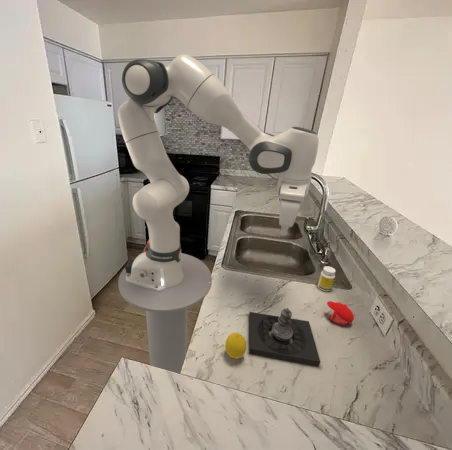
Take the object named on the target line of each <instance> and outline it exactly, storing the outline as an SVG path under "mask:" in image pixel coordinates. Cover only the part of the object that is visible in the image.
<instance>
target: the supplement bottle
mask: <svg viewBox="0 0 452 450" xmlns="http://www.w3.org/2000/svg"><path fill="white" fill-rule="evenodd" d="M336 272H337V271H336V269H335V267H332V266H327V265H326V266H325V265H324V266H323V269H322V270H321V272H320V275H319V278H318V281H317V283H316V285H317V288H318V289H319V290H321V291H323V292H330V291H332V287H333V285H334V282H335V278H336V275H335V274H336Z"/></svg>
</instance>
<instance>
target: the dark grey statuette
mask: <svg viewBox="0 0 452 450" xmlns="http://www.w3.org/2000/svg"><path fill="white" fill-rule="evenodd" d="M292 316H293V312H292V311H291V310H290V309H289V308H288V307H286V308H283V309H282V310H281V312H280V315H279V318H278V321H279V322H278V323H275V324H273V325H272V330H271V331H272V333H271V334H270V337H271V338H272V339H273V340H274V341H275V342H277V343H279V344H282V345H289V344H291V340H290V339H292V336H293V331H292V329H291V328H290V327H289V325H291V319H292Z"/></svg>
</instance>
